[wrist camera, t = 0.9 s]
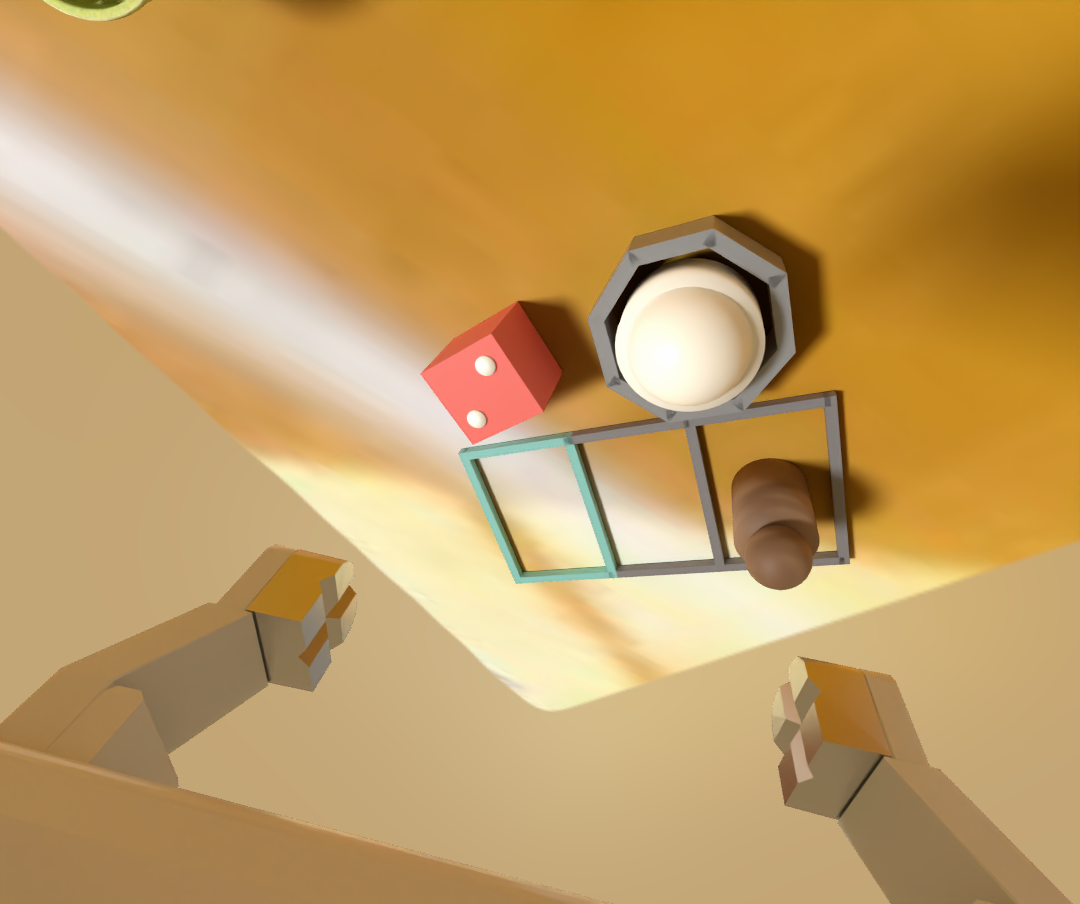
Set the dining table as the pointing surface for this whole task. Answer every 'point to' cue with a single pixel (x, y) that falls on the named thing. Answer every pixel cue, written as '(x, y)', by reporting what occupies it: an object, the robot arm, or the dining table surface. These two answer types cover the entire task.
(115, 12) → the plant pot
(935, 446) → the dining table surface
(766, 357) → the dome housing
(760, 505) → the pawn
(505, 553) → the frame
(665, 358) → the dome
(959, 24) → the dining table surface
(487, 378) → the red die
